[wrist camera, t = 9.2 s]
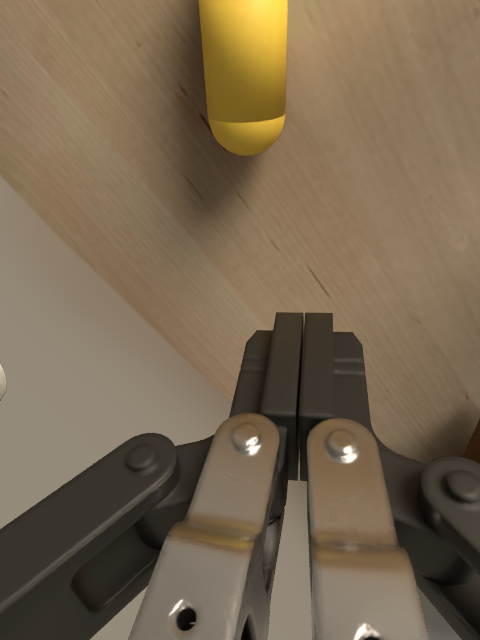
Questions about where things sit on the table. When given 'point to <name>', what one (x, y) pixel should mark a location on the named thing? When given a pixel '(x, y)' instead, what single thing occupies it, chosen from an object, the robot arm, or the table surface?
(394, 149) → the table surface
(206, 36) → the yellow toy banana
